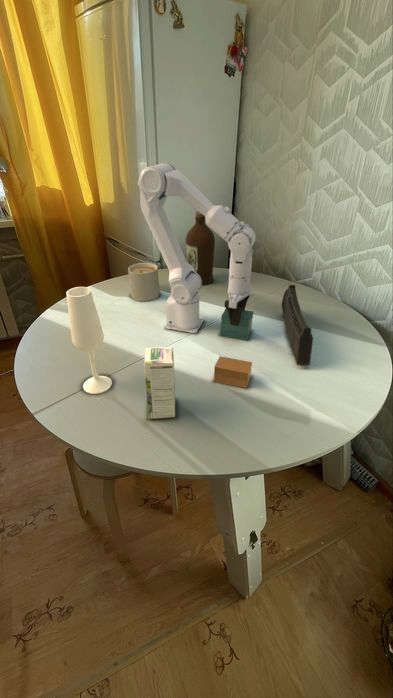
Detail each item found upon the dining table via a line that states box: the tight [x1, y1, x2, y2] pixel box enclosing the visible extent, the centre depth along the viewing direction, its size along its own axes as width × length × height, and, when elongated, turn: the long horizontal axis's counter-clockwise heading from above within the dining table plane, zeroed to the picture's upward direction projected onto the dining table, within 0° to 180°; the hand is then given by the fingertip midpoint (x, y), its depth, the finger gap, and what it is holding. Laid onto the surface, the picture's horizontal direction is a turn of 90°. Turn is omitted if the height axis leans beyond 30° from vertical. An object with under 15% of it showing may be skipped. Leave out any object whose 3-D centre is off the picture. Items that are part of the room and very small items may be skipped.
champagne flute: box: [65, 286, 113, 395], centre depth 77 cm, size 7×7×24 cm
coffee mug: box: [127, 262, 160, 302], centre depth 123 cm, size 13×10×10 cm
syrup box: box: [143, 346, 176, 420], centre depth 73 cm, size 6×6×14 cm
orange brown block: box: [213, 355, 253, 381], centre depth 84 cm, size 8×5×2 cm, turn 72°
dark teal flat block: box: [220, 308, 254, 327], centre depth 100 cm, size 8×5×2 cm
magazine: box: [281, 284, 314, 367], centre depth 98 cm, size 17×3×30 cm
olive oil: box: [184, 211, 216, 286], centre depth 128 cm, size 11×11×25 cm
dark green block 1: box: [220, 320, 253, 334], centre depth 101 cm, size 8×5×2 cm
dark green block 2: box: [219, 324, 253, 341], centre depth 102 cm, size 8×5×2 cm
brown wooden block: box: [213, 371, 252, 389], centre depth 85 cm, size 8×5×2 cm, turn 72°
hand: (236, 319), depth 100 cm, fingers closed on dark teal flat block, 5 cm apart
